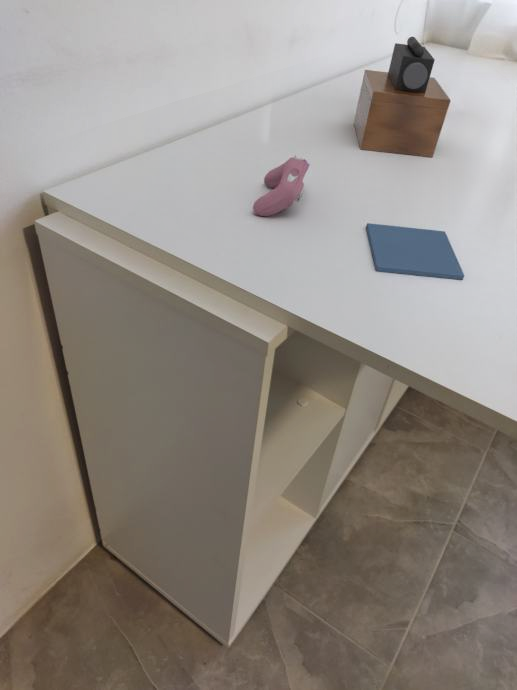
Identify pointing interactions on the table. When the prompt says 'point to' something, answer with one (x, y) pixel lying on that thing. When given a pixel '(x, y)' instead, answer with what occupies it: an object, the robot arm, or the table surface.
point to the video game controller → (282, 187)
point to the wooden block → (399, 116)
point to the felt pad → (413, 251)
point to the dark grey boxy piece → (410, 67)
